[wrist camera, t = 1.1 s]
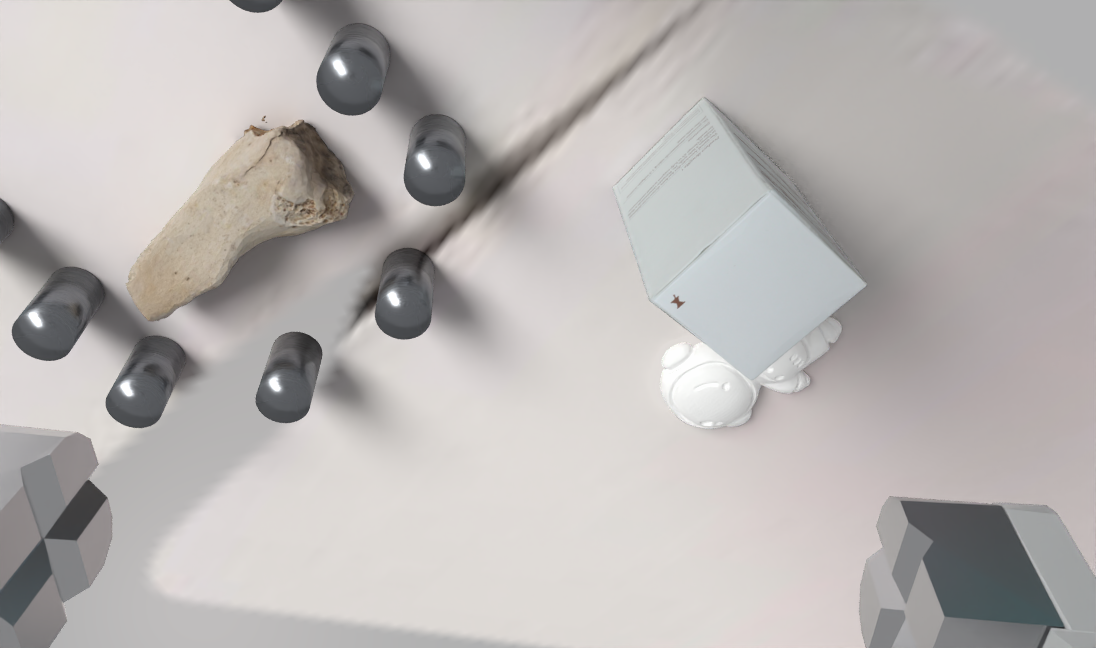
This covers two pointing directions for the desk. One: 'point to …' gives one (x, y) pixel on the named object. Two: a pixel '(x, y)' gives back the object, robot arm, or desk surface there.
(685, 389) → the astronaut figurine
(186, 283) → the bone fragment
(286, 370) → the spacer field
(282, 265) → the desk surface
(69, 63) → the desk surface
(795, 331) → the supplement box
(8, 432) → the robot arm
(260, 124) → the desk surface
